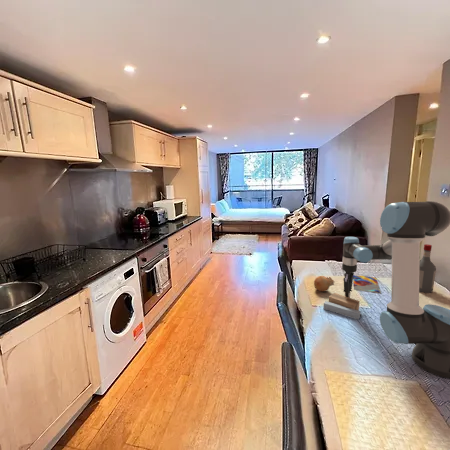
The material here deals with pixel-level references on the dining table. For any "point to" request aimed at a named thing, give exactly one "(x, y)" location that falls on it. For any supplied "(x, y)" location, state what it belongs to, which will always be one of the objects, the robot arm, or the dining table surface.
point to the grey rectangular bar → (342, 310)
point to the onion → (321, 283)
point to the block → (344, 301)
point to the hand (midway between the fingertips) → (347, 301)
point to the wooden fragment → (330, 281)
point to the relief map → (366, 284)
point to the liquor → (426, 271)
